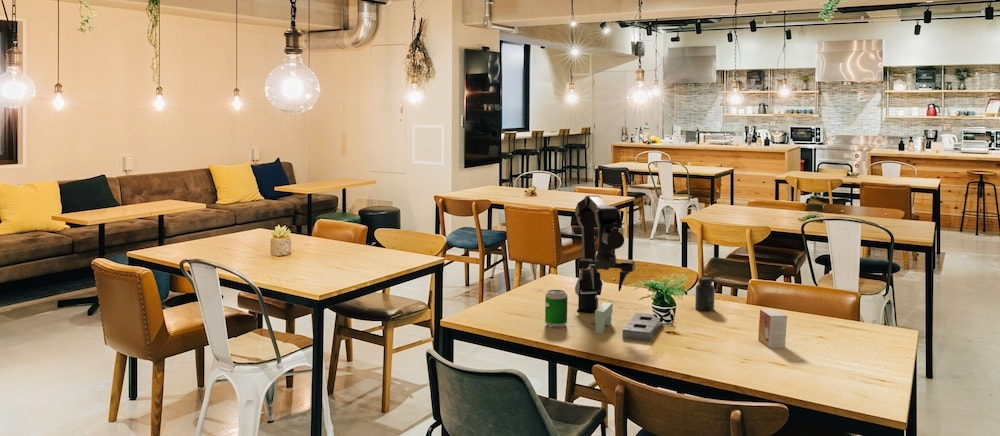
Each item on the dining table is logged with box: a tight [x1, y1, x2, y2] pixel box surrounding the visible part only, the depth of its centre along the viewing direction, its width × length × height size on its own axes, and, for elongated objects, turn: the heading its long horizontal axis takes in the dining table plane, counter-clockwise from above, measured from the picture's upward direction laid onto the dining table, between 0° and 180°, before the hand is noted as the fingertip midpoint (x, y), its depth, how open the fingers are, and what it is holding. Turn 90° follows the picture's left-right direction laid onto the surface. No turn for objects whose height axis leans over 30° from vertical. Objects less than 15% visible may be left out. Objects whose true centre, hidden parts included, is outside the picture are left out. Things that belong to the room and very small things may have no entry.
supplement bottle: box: [694, 276, 716, 312], centre depth 288 cm, size 7×7×12 cm
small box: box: [757, 308, 788, 349], centre depth 247 cm, size 8×6×10 cm
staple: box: [594, 301, 614, 335], centre depth 263 cm, size 3×12×8 cm, turn 159°
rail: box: [622, 312, 661, 342], centre depth 261 cm, size 9×22×3 cm, turn 159°
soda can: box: [544, 289, 568, 328], centre depth 266 cm, size 8×8×12 cm
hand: (606, 290), depth 262 cm, fingers open, 9 cm apart
